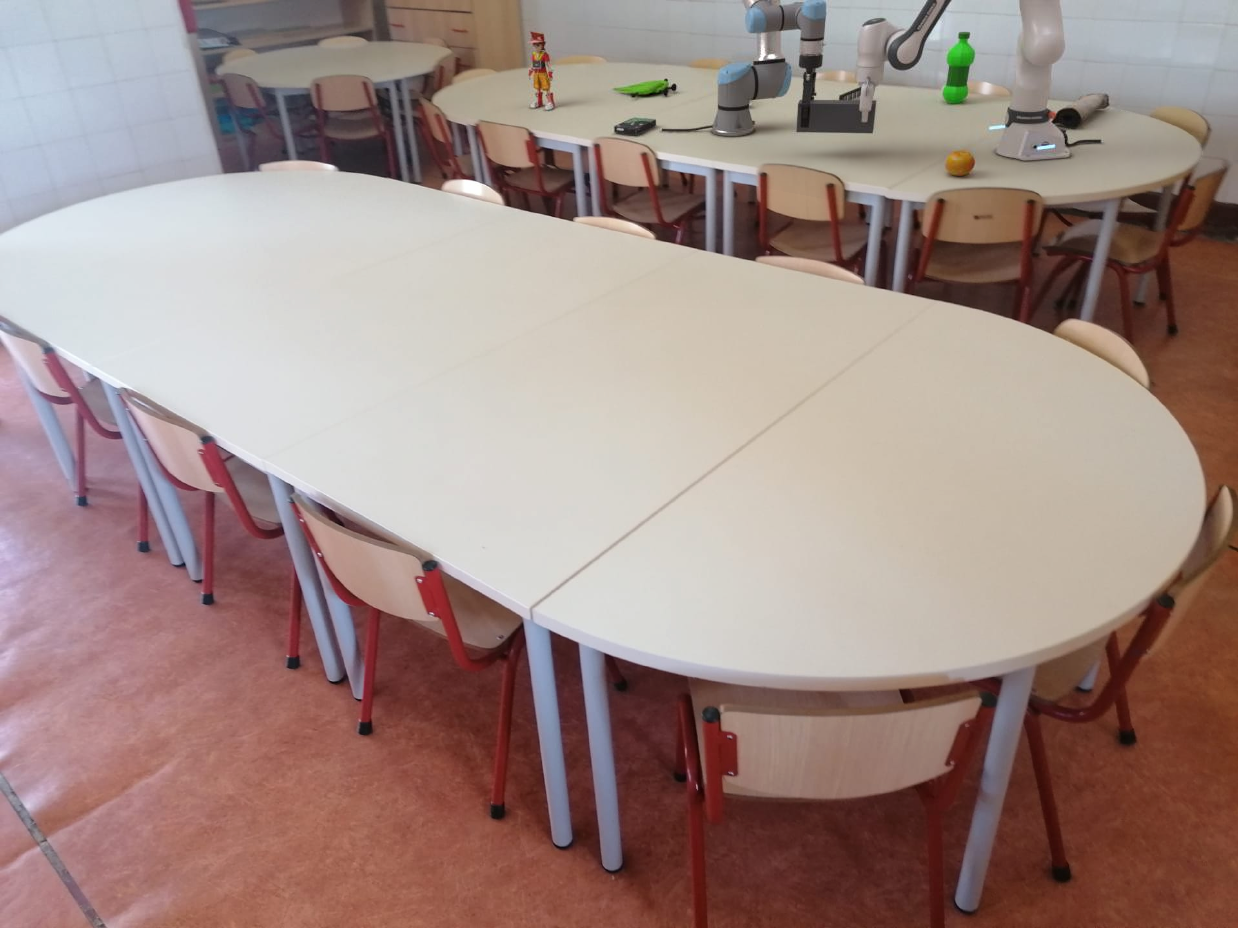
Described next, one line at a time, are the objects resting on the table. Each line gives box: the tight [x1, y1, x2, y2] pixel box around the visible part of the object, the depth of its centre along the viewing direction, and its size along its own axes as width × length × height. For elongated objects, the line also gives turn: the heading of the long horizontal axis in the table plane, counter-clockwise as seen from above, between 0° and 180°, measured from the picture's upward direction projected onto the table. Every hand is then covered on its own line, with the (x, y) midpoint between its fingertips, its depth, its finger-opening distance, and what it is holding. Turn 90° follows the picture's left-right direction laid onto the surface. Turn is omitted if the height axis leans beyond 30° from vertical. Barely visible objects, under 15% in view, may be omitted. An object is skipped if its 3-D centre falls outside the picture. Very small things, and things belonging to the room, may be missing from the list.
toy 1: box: [527, 31, 556, 111], centre depth 374 cm, size 12×9×30 cm
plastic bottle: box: [942, 31, 976, 104], centre depth 348 cm, size 10×10×25 cm
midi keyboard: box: [838, 86, 862, 100], centre depth 359 cm, size 18×1×5 cm, turn 138°
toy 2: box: [612, 78, 677, 99], centre depth 396 cm, size 28×5×30 cm
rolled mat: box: [1051, 92, 1110, 129], centre depth 325 cm, size 30×9×10 cm
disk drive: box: [613, 116, 657, 136], centre depth 344 cm, size 10×3×15 cm
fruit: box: [944, 150, 976, 177], centre depth 280 cm, size 8×8×8 cm
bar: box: [796, 99, 877, 134], centre depth 298 cm, size 25×5×9 cm, turn 74°
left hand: (806, 122), depth 302 cm, fingers open, 13 cm apart
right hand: (864, 119), depth 296 cm, fingers closed on bar, 5 cm apart
